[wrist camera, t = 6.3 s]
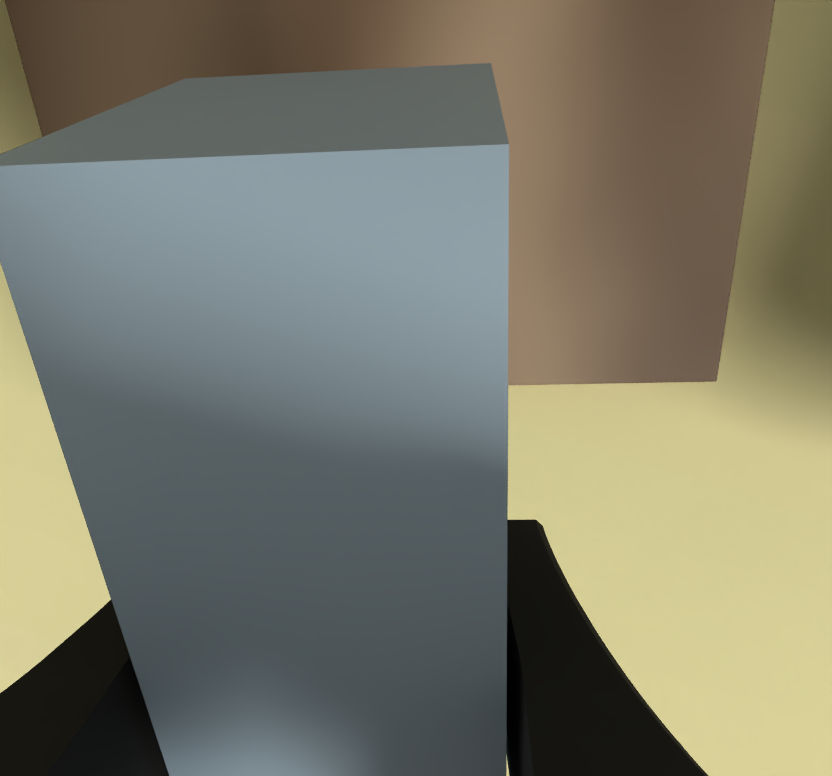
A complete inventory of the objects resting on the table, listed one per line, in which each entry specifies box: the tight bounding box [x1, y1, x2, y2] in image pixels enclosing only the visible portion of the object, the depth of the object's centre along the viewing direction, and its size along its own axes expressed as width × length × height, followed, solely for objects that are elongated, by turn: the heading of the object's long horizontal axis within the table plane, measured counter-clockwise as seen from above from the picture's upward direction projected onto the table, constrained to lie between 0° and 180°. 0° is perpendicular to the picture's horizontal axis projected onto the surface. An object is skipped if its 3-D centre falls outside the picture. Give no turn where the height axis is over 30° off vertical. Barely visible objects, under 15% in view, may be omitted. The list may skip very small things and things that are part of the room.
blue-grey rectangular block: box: [0, 63, 509, 776], centre depth 11 cm, size 14×4×5 cm, turn 3°
